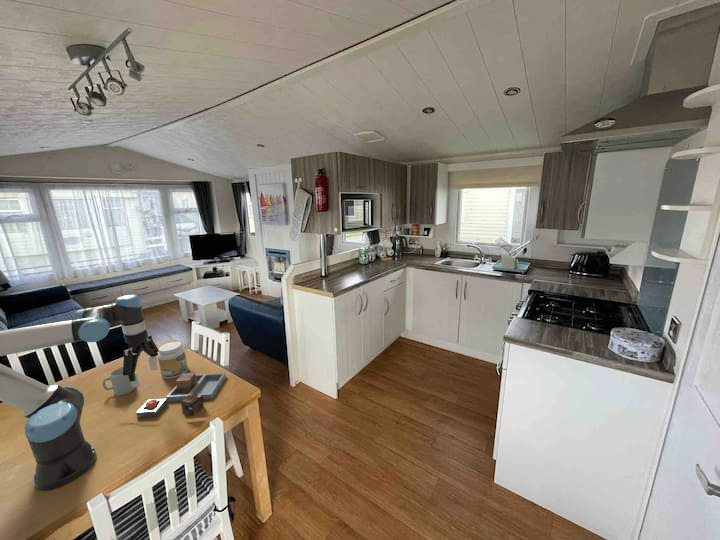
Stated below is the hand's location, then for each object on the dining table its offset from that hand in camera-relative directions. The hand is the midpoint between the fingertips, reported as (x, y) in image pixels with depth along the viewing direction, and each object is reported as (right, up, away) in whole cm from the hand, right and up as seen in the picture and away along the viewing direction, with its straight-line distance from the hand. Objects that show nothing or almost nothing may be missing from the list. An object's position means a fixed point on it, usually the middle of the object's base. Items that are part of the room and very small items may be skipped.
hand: (145, 377), depth 120 cm
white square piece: (0, -18, +4) cm, 18 cm away
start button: (0, -16, +4) cm, 17 cm away
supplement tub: (-9, -11, +33) cm, 36 cm away
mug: (-27, -14, +19) cm, 36 cm away
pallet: (+12, -14, +19) cm, 26 cm away
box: (+18, -18, +5) cm, 26 cm away
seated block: (+7, -13, +18) cm, 23 cm away
